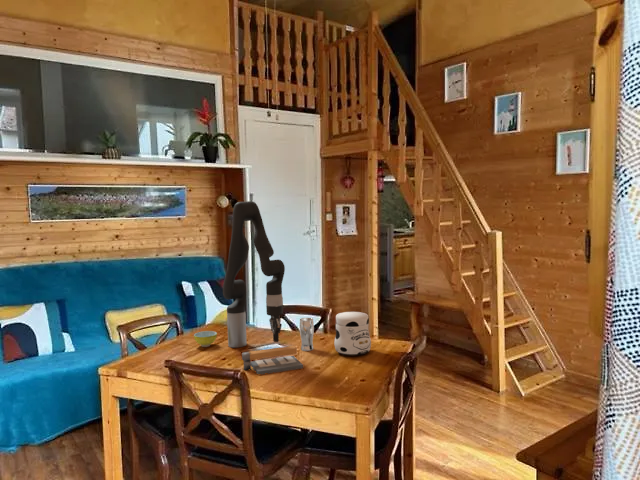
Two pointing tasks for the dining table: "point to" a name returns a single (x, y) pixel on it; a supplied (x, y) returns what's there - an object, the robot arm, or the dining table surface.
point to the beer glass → (307, 333)
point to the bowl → (205, 338)
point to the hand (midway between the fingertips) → (276, 341)
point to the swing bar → (269, 353)
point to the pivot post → (247, 364)
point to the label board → (276, 364)
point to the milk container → (352, 333)
